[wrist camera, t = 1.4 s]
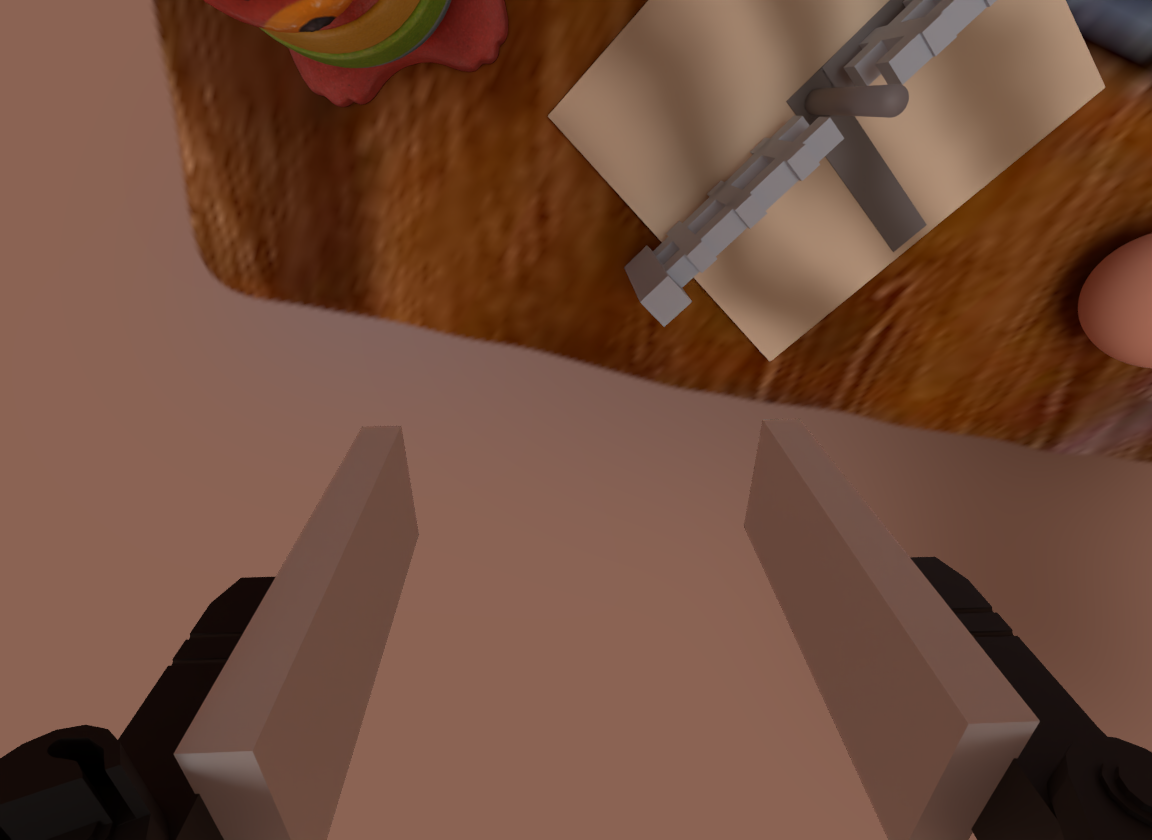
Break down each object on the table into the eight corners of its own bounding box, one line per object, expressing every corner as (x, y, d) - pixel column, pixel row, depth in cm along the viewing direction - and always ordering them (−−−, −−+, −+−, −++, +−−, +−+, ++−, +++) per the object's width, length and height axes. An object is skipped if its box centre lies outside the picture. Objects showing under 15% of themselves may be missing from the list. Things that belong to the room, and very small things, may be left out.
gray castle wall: (784, 110, 31) (842, 112, 25) (804, 137, 31) (864, 145, 25) (624, 267, 34) (639, 302, 28) (644, 288, 35) (664, 327, 29)
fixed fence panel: (1013, -115, 27) (1177, -192, 20) (1029, -79, 28) (1194, -142, 20) (796, 96, 31) (869, 95, 24) (815, 124, 31) (892, 130, 24)
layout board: (913, -305, 24) (923, -316, 24) (1096, 87, 32) (1106, 87, 31) (547, 116, 31) (547, 116, 30) (766, 358, 38) (770, 362, 38)
